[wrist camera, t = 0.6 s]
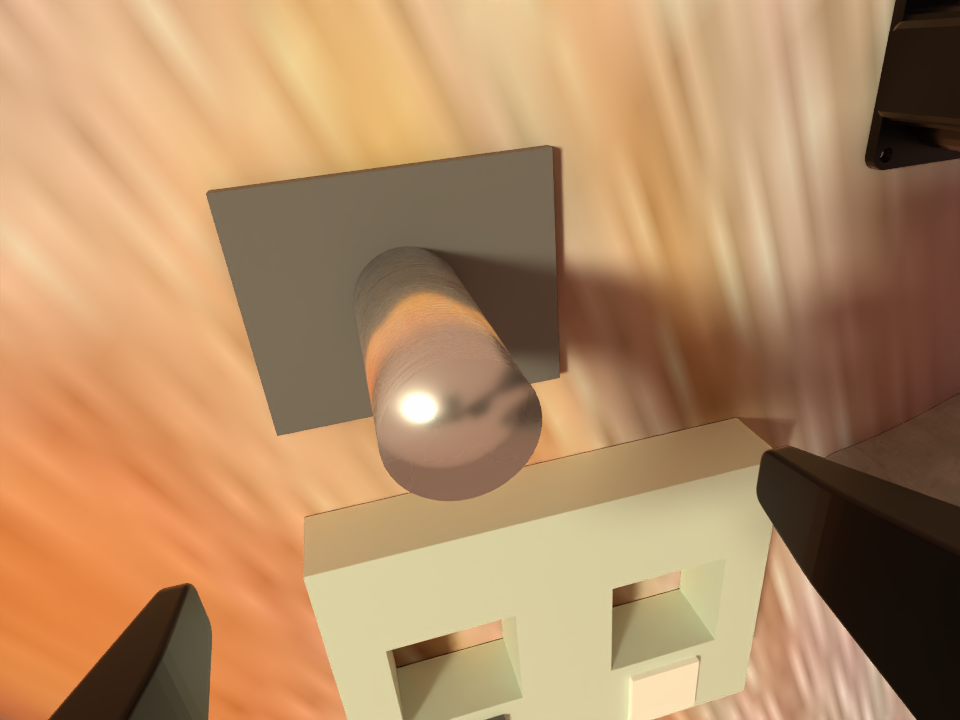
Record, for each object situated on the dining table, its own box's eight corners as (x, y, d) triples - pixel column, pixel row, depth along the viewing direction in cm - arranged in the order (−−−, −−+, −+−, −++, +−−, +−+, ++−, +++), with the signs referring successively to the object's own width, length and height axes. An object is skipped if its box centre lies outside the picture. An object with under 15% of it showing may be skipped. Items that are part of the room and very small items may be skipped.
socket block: (736, 417, 26) (790, 462, 23) (708, 639, 32) (747, 696, 29) (304, 517, 23) (303, 584, 20) (369, 741, 29) (375, 815, 26)
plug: (454, 238, 19) (538, 343, 12) (465, 337, 20) (545, 481, 13) (343, 255, 18) (364, 377, 11) (363, 356, 20) (392, 517, 13)
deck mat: (546, 145, 19) (552, 147, 18) (555, 371, 22) (559, 377, 22) (208, 190, 17) (205, 194, 17) (278, 427, 21) (277, 435, 20)
